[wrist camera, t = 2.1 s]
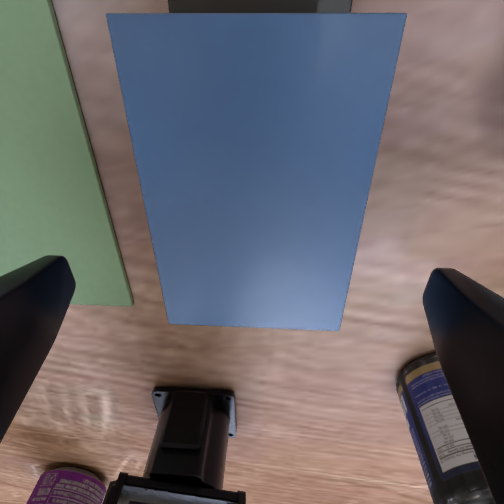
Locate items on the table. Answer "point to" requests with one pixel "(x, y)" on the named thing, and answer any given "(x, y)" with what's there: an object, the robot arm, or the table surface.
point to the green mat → (50, 162)
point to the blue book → (255, 155)
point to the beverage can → (68, 487)
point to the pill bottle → (440, 435)
